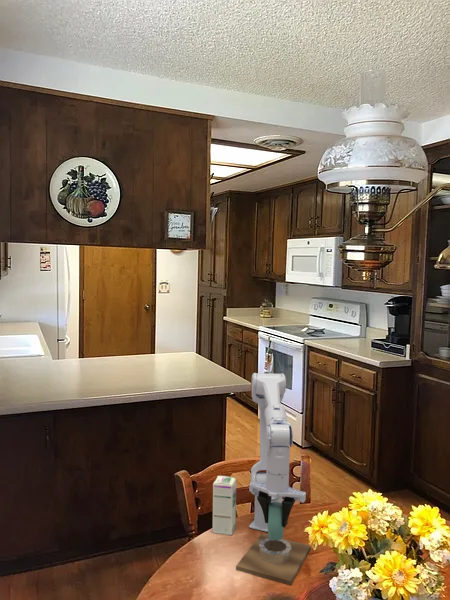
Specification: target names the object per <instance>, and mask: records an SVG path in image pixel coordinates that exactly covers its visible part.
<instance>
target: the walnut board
mask: <svg viewBox="0 0 450 600" xmlns="http://www.w3.org/2000/svg"><path fill="white" fill-rule="evenodd" d="M267 538H269V537H268V534H266V533H265V534H264V533H261V534H259V536H258V537H257V538H256V540H255V541H254V542H253V544H252V545H251V546H250V547H249V549H248V550H247V552H246V553H245V554H244V555H243V556H242V558H241V559H240V560H239V562H238V563H237V564H236V565H235V570H236V571H238V572H242V573H246V574H250V575H253V576H256V577H259V578H265V579H267V580H270V581H274V582H278V583H281V584H285V585H289V586H292V585H293V582H294V580H295V579H296V576H297V575H298V573H299V571H300V569H301V568H302V566H303V564H304V562H305V560H306V558H307V557H308V555H309V553H310V551H311V550H312V549H311V547H312V546H311V547H310V544H306V543H303V542H302V543H301V542H298V541H295V540H290V539H286V538H282V539H283V540H285V541H287V542H289V543H290V545H291V547H292V550H291V558H290V560H289V561H288V562H286V563H283V564H271V563H268V562H265V561H264V560H262V559H261V558H260V556H259V544H260V542H261V541H262V540H264V539H267ZM270 551H274V552H281V551H280V550H276V549H274V550H270Z"/></svg>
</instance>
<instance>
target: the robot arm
mask: <svg viewBox="0 0 450 600" xmlns="http://www.w3.org/2000/svg"><path fill="white" fill-rule="evenodd" d="M286 388H287V378H286V375H285V374H284V373H283V372H282V373H264V372H263V373H260V372H259V373H256V372H253V373H252V375H251V398H252V402H254V403H256V404H257V407H258V411H259V452H260V453H259V458H260V459H259V460H258V461H257V462H256V463H255V464H253V465H252V467H251V469H250V483H249V492H250V493H251V494H252V495H254V517H253V519H254V520H253V521H252V522H251V523H250V524H249V526H248V527H249V528H250V529H253V530H257V531H261V532H262V531H263V532H266V533H268V509H269V503H271V502H280V503H282V512H283V517H282V527H284V528H286V526H287V525H288V521H289V517H290V514H291V512H292V509H293V507H294V505H295V503H296V501H298V502H299V503H303V504H304V503H305V502H306V498H307V497H306V496H307V492H305V491H301V490H298V489H296V488H294V487H291V486H290V484H289V483H290V482H289V480H290V456H291V454H290V453H291V448H292V447H293V444H294V443H293V442H294V432H293V427H292V423H290V422H289V421H288V418H287V417H288V416H287V412H286V409H285V407H284V406H283V405H281V403H282V402H283V399H284V396H285V393H286Z"/></svg>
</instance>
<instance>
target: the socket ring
mask: <svg viewBox="0 0 450 600" xmlns="http://www.w3.org/2000/svg"><path fill="white" fill-rule="evenodd" d="M283 539H284V538H282V539H281V540H273V539H270V538H267V539H264V540H262V541H261V542H260V544H259V556H260V558H261V559H262V560H264V561H265V562H268V563H271V564H283V563H286V562H288V561H289V560H290V558H291V550H292V547H291V545H290V543H289V542H287V541H285V540H283ZM274 549H276V550H280V551H281V552H274V551H270V550H274Z"/></svg>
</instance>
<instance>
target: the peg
mask: <svg viewBox="0 0 450 600" xmlns="http://www.w3.org/2000/svg"><path fill="white" fill-rule="evenodd" d="M282 517H283V512H282V503H280V502H271V503H269V509H268V532H267V535H268V537H269V538H270V539H273V540H281V539H284V533H285V532H284V530H285V529H284V528H285V527H282Z"/></svg>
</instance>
